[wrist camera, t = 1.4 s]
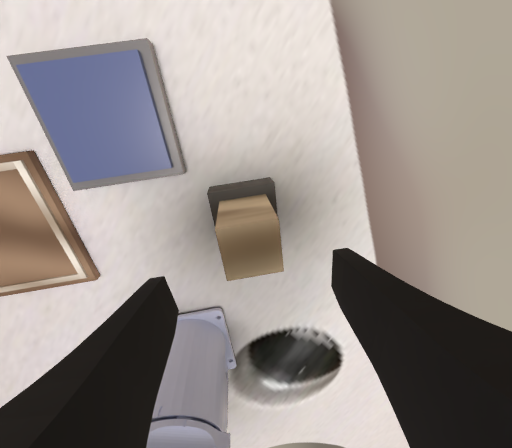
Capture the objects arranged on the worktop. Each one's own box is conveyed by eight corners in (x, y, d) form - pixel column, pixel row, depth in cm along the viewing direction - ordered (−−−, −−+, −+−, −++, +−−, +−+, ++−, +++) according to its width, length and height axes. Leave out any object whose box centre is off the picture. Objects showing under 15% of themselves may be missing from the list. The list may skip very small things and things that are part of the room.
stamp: (275, 231, 20) (296, 278, 14) (221, 240, 20) (217, 292, 13) (269, 177, 18) (291, 203, 12) (209, 186, 18) (197, 219, 11)
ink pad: (186, 171, 17) (182, 175, 16) (82, 187, 17) (68, 192, 15) (152, 44, 14) (144, 34, 12) (21, 61, 13) (-3, 53, 12)
